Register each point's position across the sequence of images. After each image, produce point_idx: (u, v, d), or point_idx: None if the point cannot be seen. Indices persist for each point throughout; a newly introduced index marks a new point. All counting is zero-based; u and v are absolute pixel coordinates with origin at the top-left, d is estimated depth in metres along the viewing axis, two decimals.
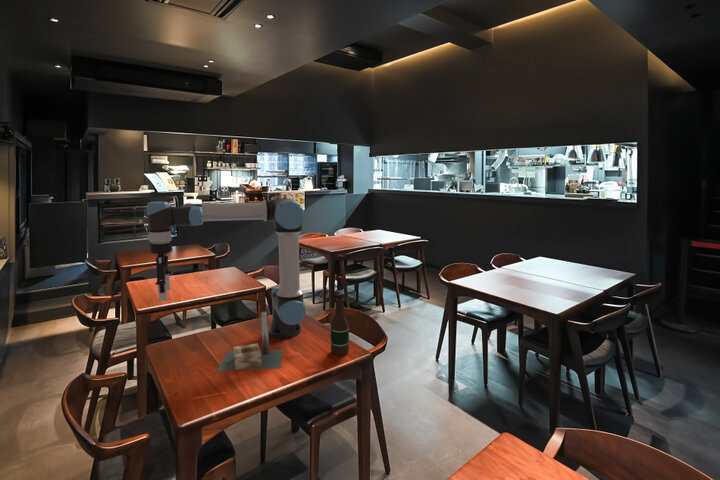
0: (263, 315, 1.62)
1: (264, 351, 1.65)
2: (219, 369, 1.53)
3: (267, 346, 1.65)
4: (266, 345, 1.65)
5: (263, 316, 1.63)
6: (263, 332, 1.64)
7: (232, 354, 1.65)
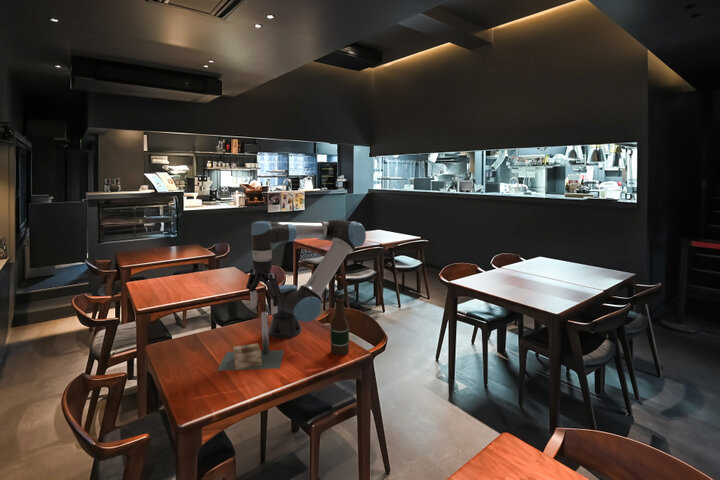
0: (263, 315, 1.62)
1: (264, 351, 1.65)
2: (219, 369, 1.53)
3: (267, 346, 1.65)
4: (266, 345, 1.65)
5: (263, 316, 1.63)
6: (263, 332, 1.64)
7: (232, 354, 1.65)
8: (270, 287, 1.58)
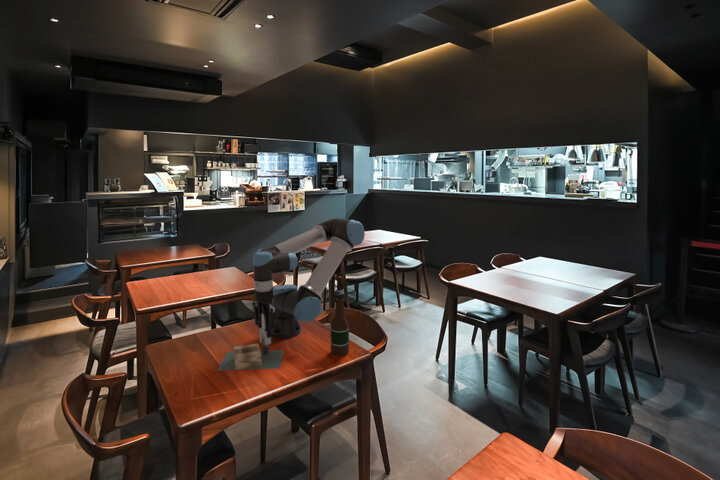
0: (263, 315, 1.62)
1: (264, 351, 1.65)
2: (219, 369, 1.53)
3: (267, 346, 1.65)
4: (266, 345, 1.65)
5: (263, 316, 1.63)
6: (263, 332, 1.64)
7: (232, 354, 1.65)
8: (267, 319, 1.62)
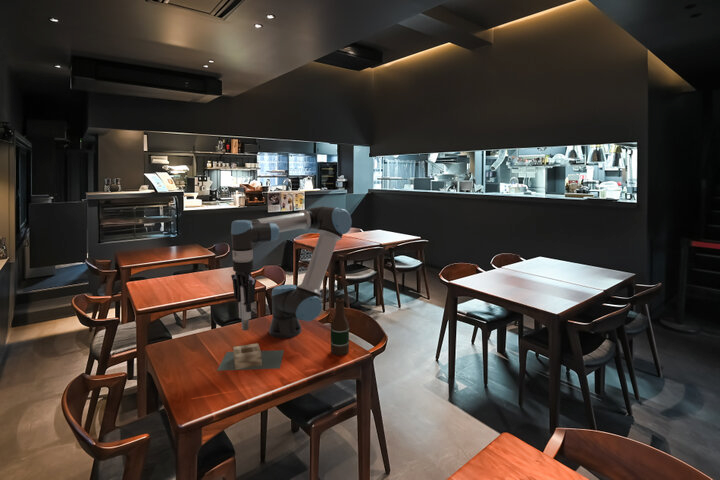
0: (242, 288, 1.52)
1: (243, 327, 1.55)
2: (219, 369, 1.53)
3: (247, 321, 1.55)
4: (245, 320, 1.55)
5: (242, 289, 1.53)
6: (242, 306, 1.54)
7: (232, 354, 1.65)
8: (246, 292, 1.52)
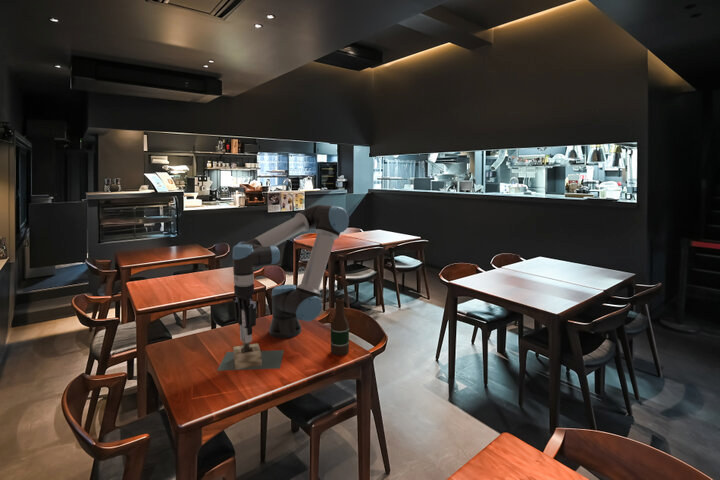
0: (243, 311, 1.54)
1: (244, 349, 1.57)
2: (219, 369, 1.53)
3: (248, 344, 1.57)
4: (247, 343, 1.57)
5: (243, 312, 1.54)
6: (243, 329, 1.55)
7: (232, 354, 1.65)
8: (247, 315, 1.54)
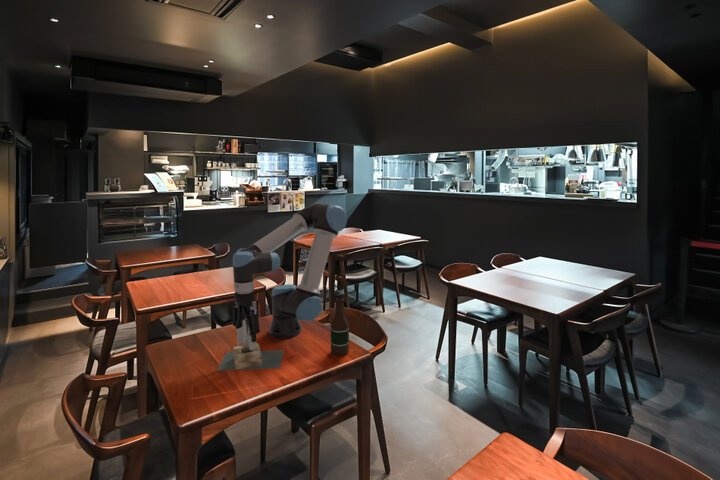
0: (244, 322, 1.55)
1: None
2: (219, 369, 1.53)
3: None
4: None
5: (244, 323, 1.55)
6: (244, 340, 1.56)
7: (232, 354, 1.65)
8: (250, 322, 1.53)
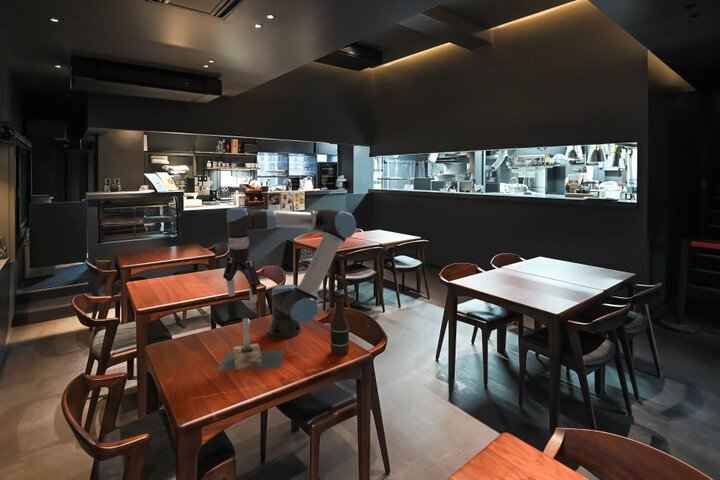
0: (244, 322, 1.55)
1: None
2: (219, 369, 1.53)
3: None
4: None
5: (244, 323, 1.55)
6: (244, 339, 1.56)
7: (232, 354, 1.65)
8: (248, 275, 1.53)
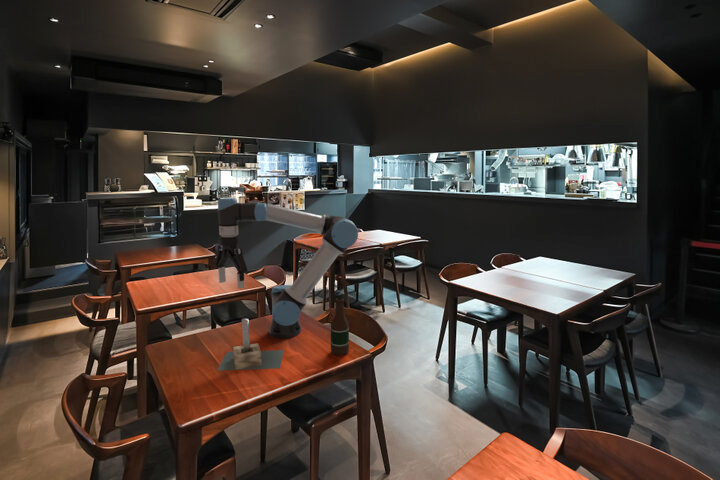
0: (244, 322, 1.55)
1: None
2: (219, 369, 1.53)
3: None
4: None
5: (244, 323, 1.55)
6: (244, 340, 1.56)
7: (232, 354, 1.65)
8: (236, 262, 1.61)
